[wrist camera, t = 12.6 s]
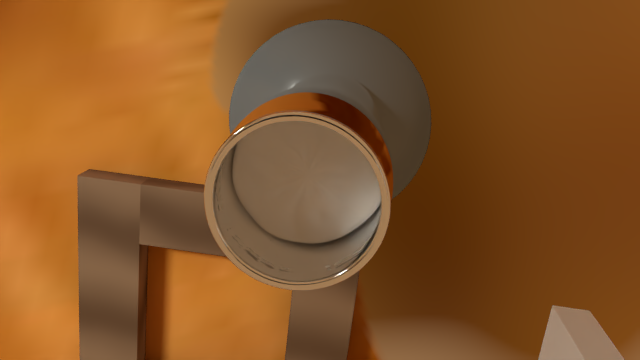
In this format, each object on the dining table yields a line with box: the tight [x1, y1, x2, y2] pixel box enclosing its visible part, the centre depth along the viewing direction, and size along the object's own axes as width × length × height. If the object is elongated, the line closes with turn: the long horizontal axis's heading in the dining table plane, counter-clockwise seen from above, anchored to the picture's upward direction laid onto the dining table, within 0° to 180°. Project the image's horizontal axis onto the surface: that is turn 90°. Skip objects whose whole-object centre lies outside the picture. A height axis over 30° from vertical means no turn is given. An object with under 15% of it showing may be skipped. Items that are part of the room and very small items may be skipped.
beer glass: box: [204, 73, 394, 291], centre depth 27 cm, size 7×7×15 cm
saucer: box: [229, 19, 431, 199], centre depth 35 cm, size 12×12×1 cm
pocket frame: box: [78, 169, 359, 360], centre depth 39 cm, size 18×18×2 cm
